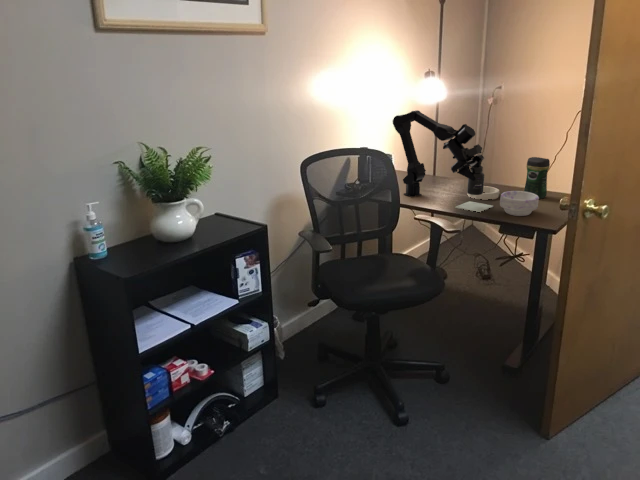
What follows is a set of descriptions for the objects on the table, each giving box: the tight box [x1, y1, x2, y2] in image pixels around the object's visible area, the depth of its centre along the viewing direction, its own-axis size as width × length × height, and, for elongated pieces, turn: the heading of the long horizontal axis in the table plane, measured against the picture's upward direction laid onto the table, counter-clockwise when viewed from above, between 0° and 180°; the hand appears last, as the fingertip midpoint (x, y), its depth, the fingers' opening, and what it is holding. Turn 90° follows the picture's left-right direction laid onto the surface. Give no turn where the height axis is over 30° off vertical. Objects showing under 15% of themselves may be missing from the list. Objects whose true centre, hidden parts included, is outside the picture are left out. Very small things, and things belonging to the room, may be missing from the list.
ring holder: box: [466, 185, 500, 201], centre depth 250 cm, size 14×14×3 cm
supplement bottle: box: [466, 165, 485, 195], centre depth 228 cm, size 7×7×12 cm
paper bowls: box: [499, 190, 540, 217], centre depth 221 cm, size 15×15×8 cm
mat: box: [454, 201, 494, 213], centre depth 232 cm, size 12×12×1 cm
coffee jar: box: [523, 156, 551, 200], centre depth 242 cm, size 10×8×19 cm
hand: (478, 178), depth 227 cm, fingers closed on supplement bottle, 7 cm apart
